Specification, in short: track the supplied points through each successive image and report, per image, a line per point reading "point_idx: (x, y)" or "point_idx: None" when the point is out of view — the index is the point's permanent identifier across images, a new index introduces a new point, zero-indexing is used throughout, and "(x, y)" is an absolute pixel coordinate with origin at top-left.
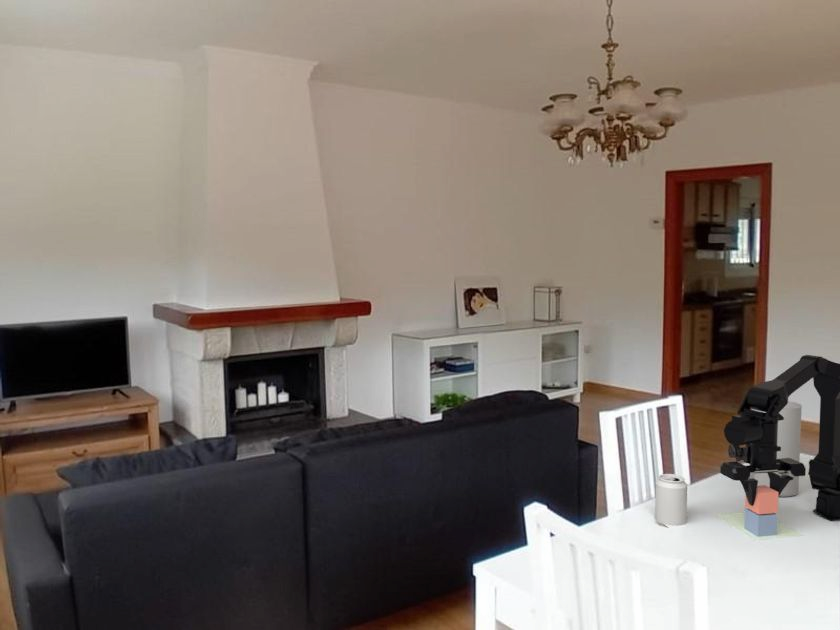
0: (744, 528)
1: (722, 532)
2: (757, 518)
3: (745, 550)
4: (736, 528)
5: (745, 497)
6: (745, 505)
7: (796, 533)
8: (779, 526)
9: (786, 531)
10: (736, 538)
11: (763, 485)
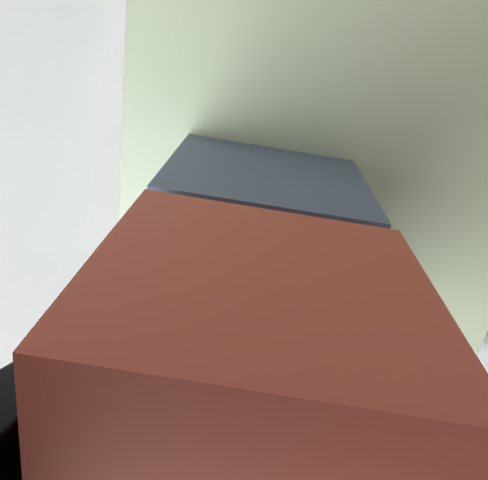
0: (187, 135)
1: (36, 64)
2: None
3: (23, 330)
4: (127, 111)
5: (104, 239)
6: (139, 200)
7: (464, 324)
8: (481, 196)
9: (437, 278)
10: (73, 188)
11: (479, 437)
